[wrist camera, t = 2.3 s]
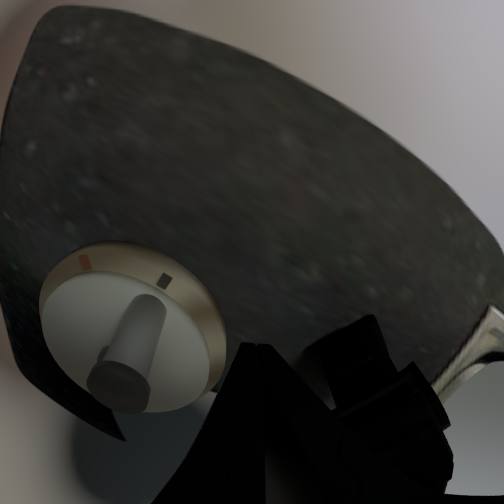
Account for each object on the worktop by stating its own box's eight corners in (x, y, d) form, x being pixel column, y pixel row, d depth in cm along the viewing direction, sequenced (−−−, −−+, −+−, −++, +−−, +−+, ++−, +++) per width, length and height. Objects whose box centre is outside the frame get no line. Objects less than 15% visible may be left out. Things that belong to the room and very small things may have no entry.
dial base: (263, 357, 23) (265, 375, 21) (133, 405, 26) (129, 420, 24) (138, 195, 17) (127, 204, 15) (24, 297, 20) (13, 309, 18)
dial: (245, 374, 21) (251, 463, 14) (128, 413, 23) (112, 479, 16) (124, 231, 16) (56, 307, 8) (25, 316, 18) (-21, 377, 11)
